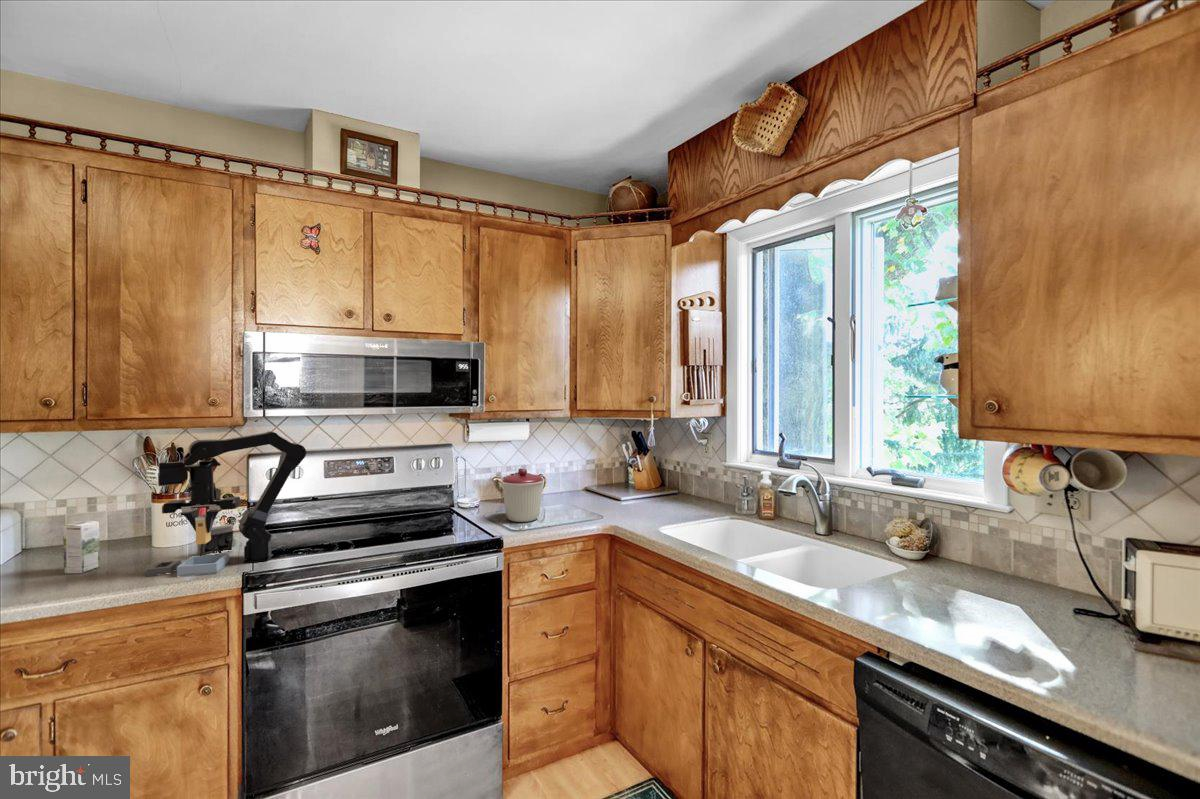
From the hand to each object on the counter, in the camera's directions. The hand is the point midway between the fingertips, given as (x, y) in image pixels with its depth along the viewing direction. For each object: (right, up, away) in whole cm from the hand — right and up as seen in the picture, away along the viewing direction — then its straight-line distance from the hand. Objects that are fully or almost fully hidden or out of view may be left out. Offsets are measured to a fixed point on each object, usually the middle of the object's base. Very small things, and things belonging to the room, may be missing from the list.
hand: (203, 532), depth 164 cm
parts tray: (0, -11, 0) cm, 11 cm away
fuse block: (-11, -11, -1) cm, 16 cm away
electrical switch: (-7, -11, +16) cm, 21 cm away
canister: (+88, -9, +60) cm, 107 cm away
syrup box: (-36, -12, 0) cm, 38 cm away
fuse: (0, -3, 0) cm, 3 cm away
